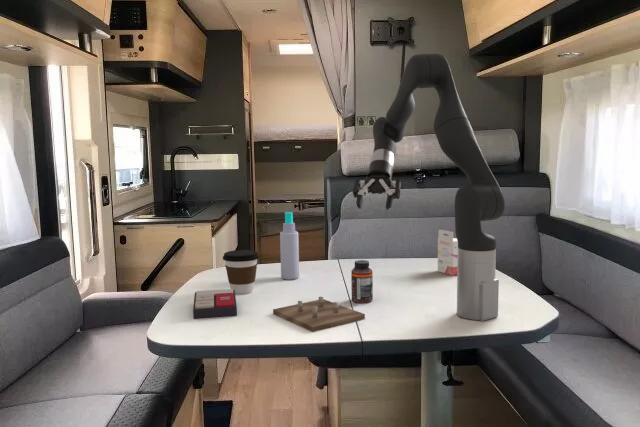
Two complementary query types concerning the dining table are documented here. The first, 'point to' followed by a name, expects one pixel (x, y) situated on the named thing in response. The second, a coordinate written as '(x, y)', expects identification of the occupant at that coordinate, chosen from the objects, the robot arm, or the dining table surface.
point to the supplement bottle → (362, 282)
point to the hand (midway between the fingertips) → (373, 207)
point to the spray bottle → (289, 249)
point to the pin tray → (318, 314)
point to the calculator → (214, 304)
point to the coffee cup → (241, 270)
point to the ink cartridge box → (447, 253)
